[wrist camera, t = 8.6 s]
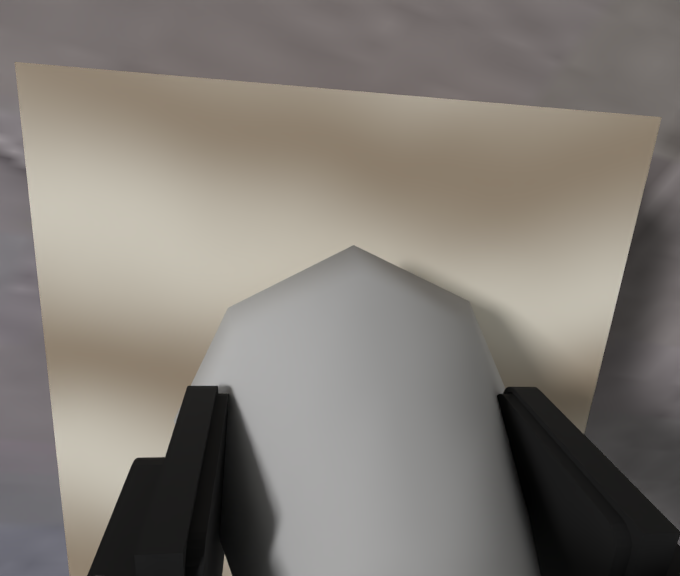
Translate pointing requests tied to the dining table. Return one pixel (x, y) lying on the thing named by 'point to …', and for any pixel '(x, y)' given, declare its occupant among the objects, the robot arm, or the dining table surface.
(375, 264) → the flask
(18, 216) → the dining table surface
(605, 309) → the grooved beige box
